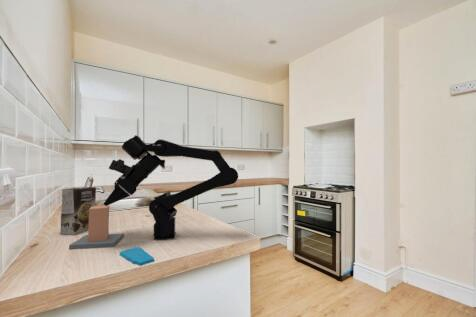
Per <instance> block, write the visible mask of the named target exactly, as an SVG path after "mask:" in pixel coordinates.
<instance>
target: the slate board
mask: <svg viewBox="0 0 476 317" xmlns="http://www.w3.org/2000/svg"><path fill="white" fill-rule="evenodd" d="M124 238H125V233H123V232H122V233H109V235H108V239H107V240H103V241H95V242H88V234H85V235H84V236H82V237H80V238H79V239H77V240H75V241H73V242H72V243H71V244H69V245H68V247H69V248H68V250H81V249H83V250H84V249H95V248H96V249H98V248H114V247H115V246H116V245H118V243H120V241H121V240H122V239H124Z"/></svg>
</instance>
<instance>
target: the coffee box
mask: <svg viewBox="0 0 476 317" xmlns="http://www.w3.org/2000/svg"><path fill="white" fill-rule="evenodd" d="M96 195H97V187H93V186H92V187H87V186H86V187H73V188H72V187H71V188H62V191H61V211H60V212H61V213H60V231H59V234H60V235H71V236H74V235H78V234H82V233H85V232H88V227H89V209H90V208H91V207H92V206H96V199H97V198H96Z"/></svg>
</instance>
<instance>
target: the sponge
mask: <svg viewBox="0 0 476 317" xmlns="http://www.w3.org/2000/svg"><path fill="white" fill-rule="evenodd" d="M119 256H120V257H121V258H123V259H125V260H127V261H128V262H130V263H132V264H133V265H137V266H140V267H142V266H143V265H147V264H151V263H154V262H155V259H154V257H153V256H152V255H150V254H149V253H148V252H147V251H145V249H143V248H142V247H140V246H137V247H131V248H127V249H124V250H121V251H119Z"/></svg>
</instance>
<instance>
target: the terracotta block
mask: <svg viewBox="0 0 476 317" xmlns="http://www.w3.org/2000/svg"><path fill="white" fill-rule="evenodd" d="M109 224H110V205H107V206H105V205H95V206H92V207H91V208H90V209H89V227H88V231H87V235H88V242H95V241H103V240H107V239H108V235H109V234H110V233H109Z"/></svg>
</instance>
